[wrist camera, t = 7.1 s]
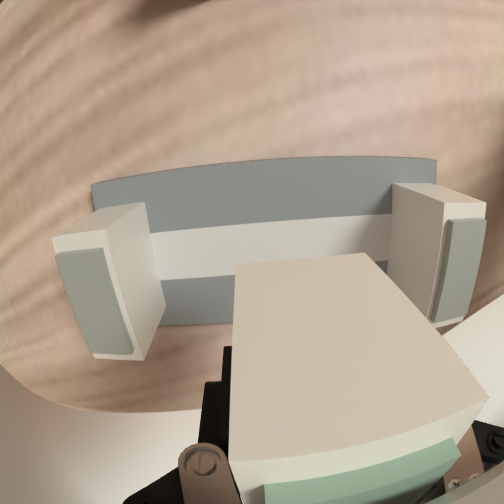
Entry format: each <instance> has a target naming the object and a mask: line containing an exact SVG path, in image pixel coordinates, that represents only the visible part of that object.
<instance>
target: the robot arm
mask: <svg viewBox="0 0 504 504" xmlns="http://www.w3.org/2000/svg"><path fill="white" fill-rule="evenodd" d="M231 361H232V346H224V351H223V365H222V379H221V381H218V382H206V383H205V387H204V395H203V403H202V412H201V420H200V429H199V438H198V443H197V444H194V445H191V446H189V447H187V448H186V449H185V450H184V451H183V452H182V453H181V455H180V457H179V459H178V467H177V468H175V469H174V470H172V471H171V472H169V473H167V474H166V475H164V476H163V477H161V478H160V479H158V480H156V481H155V482H153V483H151V484H150V485H148V486H147V487H145V488H143V489H141V490H140V491H138V492H136V493H134V494H133V495H131V496H129V497H128V498H127V499H126V500H125V501H124V502H123V504H243V503H242V500H241V497H240V492H239V489H238V487H237V484H236V481H235V479H234V476H233V473H232V470H231V467H230V465H229V462H228V455H229V419H230V388H231ZM456 446H457V447H458V449H459V451H460V453H461V456H460V457H459V458H458V459H457V461H456V462H455V463H454V464H453V465H452V466H451V467H450V469H449V470H448V471H447V472H446V473H445V474H444V475H443V476H442V477H441V478H440V479H439V480H438V481H437V482H436V483H435V484H434V485H433V486H432V487H431V488H430V489H429V490H428V491H427V492H426V493H425V494H424V495H423V496H422V497H421V498H420V499H419V500H418V501H417V502H416V503H414V504H504V428H503V427H499V426H495V425H491V424H487V423H484V422H480V421H476V420H474V421H473V423H472V424H471V426H470V427H469V429H468V430H467V432H466V433H465V434H464V436H463V437H462V438H461V440H460V441H459V443H458V444H457V445H456Z"/></svg>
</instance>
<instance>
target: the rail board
mask: <svg viewBox="0 0 504 504" xmlns="http://www.w3.org/2000/svg"><path fill="white" fill-rule="evenodd" d="M392 183H432V184H435V185H436V160H433V159H428V158H412V157H386V156H324V157H297V158H278V159H263V160H250V161H239V162H228V163H219V164H210V165H201V166H193V167H185V168H178V169H171V170H164V171H158V172H151V173H145V174H139V175H134V176H128V177H123V178H117V179H112V180H107V181H102V182H98V183H95V184H92V185H90V186H91V192H92V198H93V203H94V208H95V211H96V210H98V209H101V208H107V207H113V206H119V205H125V204H132V203H139V202H145V206H146V212H147V218H148V224H149V229H150V235H151V241H152V246H153V251H154V256H155V260H156V265H157V270H158V274H159V279H160V282H161V286H162V291H163V295H164V299H165V303H166V308H165V311H164V313H163V315H162V318H161V320H160V323H159V325H158V326H172V325H197V324H216V323H231V322H233V314H234V293H235V273H236V264H246V263H257V262H269V261H280V260H291V259H302V258H313V257H324V256H334V255H345V254H355V253H366V254H367V255H368V256H369V257H370V258H371V259H372V260H373V261H374V262H375V264H376V265H377V266H378V267H379V268H380V269H381V270H382V271H383V272H384V273H385V274H386V275H387V266H388V258H389V247H390V235H391V219H392Z"/></svg>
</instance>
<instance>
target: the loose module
mask: <svg viewBox="0 0 504 504" xmlns="http://www.w3.org/2000/svg"><path fill="white" fill-rule="evenodd" d="M488 398H489V396H488V394H487V393H486V392H485V390H484V389H483V388H482V386H481V385H480V384H479V382H478V381H477V380H476V379H475V377H474V376H473V374H472V373H471V372H470V371H469V369H468V368H467V367H466V366H465V364H464V363H463V362H462V360H461V359H460V358H459V357H458V355H457V354H456V353H455V352H454V351H453V349H452V348H451V347H450V346H449V344H448V343H447V342H446V341H445V340H444V338H443V337H442V336H441V335H440V334H439V332H438V331H437V330H436V329H435V328H434V327H433V325H432V324H431V323H430V322H429V321H428V320H427V319H426V317H425V316H424V315H423V314H422V313H421V312H420V311H419V309H418V308H417V307H416V306H415V305H414V304H413V303H412V302H411V301H410V299H409V298H408V297H407V296H406V295H405V294H404V293H403V292H402V291H401V290H400V289H399V288H398V286H397V285H396V284H395V283H394V282H393V281H392V280H391V279H390V278H389V277H388V276H387V275H386V274H385V273H384V272H383V271H382V270H381V269H380V268H379V267H378V266H377V265H376V264H375V262H374V261H373V260H372V259H371V258H370V257H369V256H368V255H367V254H366V253H355V254H345V255H334V256H324V257H313V258H302V259H291V260H280V261H269V262H257V263H246V264H236V273H235V293H234V314H233V337H232V361H231V388H230V419H229V455H228V462H229V465H230V467H231V470H232V473H233V476H234V479H235V481H236V484H237V487H238V489H239V492H240V495H241V497H242V500H243V503H244V504H414V503H416V502H417V501H418V500H419V499H420V498H421V497H422V496H423V495H424V494H425V493H426V492H427V491H428V490H429V489H430V488H431V487H432V486H433V485H434V484H435V483H436V482H437V481H438V480H439V479H440V478H441V477H442V476H443V475H444V474H445V473H446V472H447V471H448V470H449V469H450V467H451V466H452V465H453V464H454V463H455V462H456V461H457V459H458V458H459V457H460V456H461V453H460V451H459V449H458V447H457V446H456V445H457V444H458V443H459V441H460V440H461V438H462V437H463V436H464V434H465V433H466V432H467V430H468V429H469V427H470V426H471V424H472V423H473V421H474V420H475V418H476V417H477V415H478V414H479V412H480V411H481V409H482V408H483V406H484V404H485V403H486V401H487V399H488Z"/></svg>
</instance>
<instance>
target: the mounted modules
mask: <svg viewBox="0 0 504 504" xmlns="http://www.w3.org/2000/svg"><path fill="white" fill-rule="evenodd" d="M485 212H486V202H484V201H481V200H478V199H476V198H473V197H470V196H467V195H465V194H462V193H459V192H456V191H453V190H450V189H447V188H444V187H441V186H438V185H435V184H432V183H392V219H391V235H390V247H389V258H388V266H387V276H388V277H389V278H390V279H391V280H392V281H393V282H394V283H395V284H396V285H397V286H398V288H399V289H400V290H401V291H402V292H403V293H404V294H405V295H406V296H407V297H408V298H409V299H410V301H411V302H412V303H413V304H414V305H415V306H416V307H417V308H418V309H419V311H420V312H421V313H422V314H423V315H424V316H425V317H426V319H427V320H428V321H429V322H430V323H431V324H432V325H433V327H434V328H438V327H442V326H446V325H450V324H453V323H457V322H461V321H463V318H464V315H467V312H468V309H469V305H470V302H471V298H472V294H473V290H474V286H475V282H476V278H477V274H478V269H479V265H480V260H481V254H482V249H483V243H484V237H485V230H486V223H487V220H485ZM51 238H52V242H53V246H54V250H55V253H56V256H55V258H56V262H57V265H58V268H59V271H60V275H61V278H62V281H63V284H64V287H65V290H66V293H67V295H68V298H69V301H70V304H71V306H72V309H73V312H74V314H75V317H76V319H77V322H78V324H79V327H80V329H81V332H82V334H83V336H84V339H85V341H86V343H87V345H88V348H89V350H90V352H91V353H92V354H93V356H94V358H98V359H114V360H140V361H144V360H145V357H146V355H147V352H148V350H149V347H150V345H151V342H152V340H153V337H154V335H155V332H156V330H157V327H158V325H159V323H160V320H161V318H162V315H163V313H164V311H165V308H166V303H165V299H164V295H163V291H162V286H161V282H160V279H159V274H158V270H157V265H156V260H155V256H154V251H153V246H152V241H151V235H150V229H149V224H148V218H147V212H146V206H145V202H139V203H132V204H125V205H119V206H113V207H107V208H101V209H98V210H96V211H95V212H93V213H91V214H89V215H87V216H86V217H84V218H82V219H80V220H79V221H77V222H75V223H74V224H72V225H70V226H68V227H67V228H65V229H63V230H62V231H60V232H58V233H57V234H55V235H54V236H52V237H51Z"/></svg>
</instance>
